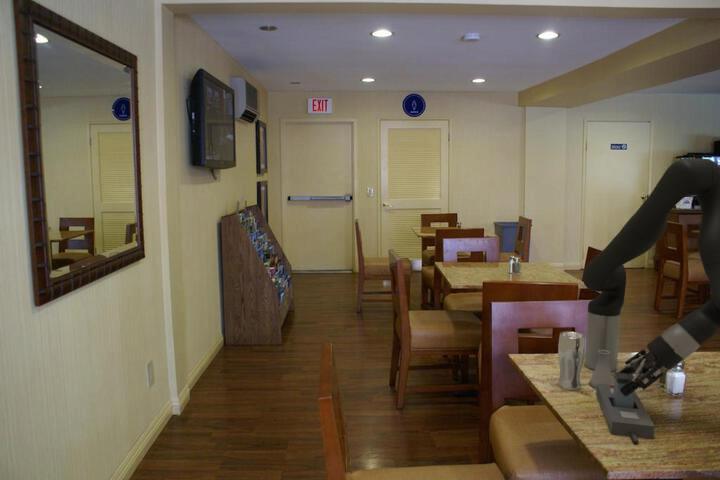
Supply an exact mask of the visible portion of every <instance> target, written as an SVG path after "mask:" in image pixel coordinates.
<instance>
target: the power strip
mask: <svg viewBox="0 0 720 480" xmlns="http://www.w3.org/2000/svg"><path fill="white" fill-rule="evenodd" d="M595 389H596V390H595V395H596V398H597V400H598V403H599V405H600V408H601V410H602V413H603V415H604V418H605V421H606V423H607V426H608V429H609V431H610V434H611V435H618V436H628V437H630V438H631V440H632V442H633V444H636V445H637V444H638V443H640V440H639V438H645V439H655V438H654V437H655V424H654V423H653V420H652V419H651V416H650V415H649V413H648V412H647V410H646V408H645V406H644V405H643V403H642V401H641V399H640V397H639V396H638V394H637V392H636V391H635V392H634V406H633V409H632V408H622V407H613V395H614V384H611V383H610V385H608V384H597V387H596V388H595Z"/></svg>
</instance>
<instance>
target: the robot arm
mask: <svg viewBox="0 0 720 480" xmlns="http://www.w3.org/2000/svg"><path fill="white" fill-rule="evenodd" d="M686 197H696V198H697V201H698V204H699V206H700V211H701V221H700V227H699V232H698V237H697V247H698V248H697V249H698V253H699V256H700V261H701V263H702V267H703V270H704V273H705V275H706V277H707V278H708V281H709V285H710V288H711V292H712V297H711V298H709V299H708V300H707V301H706V302H704V303H703V304H702V305H701V306H700V307H698V309H695V310H693V311H692V312H690V313H688V315H686V316H684V317H683V318H682V319H681V320H679V321H678V322H677V323H675V324H673V325H672V326H670V327H668V328H667V329H666V330H664V331H663V332H662V333H660V334H659V335H658V336H657V337H655V338H654V339H652V340H651V341H649V343H647V344H646V349H647V350H648V351H646V350H645V348H642V349H641V350H640V351H638V352H637V353H636V354H633V356H631V357H630V358H629V359H627V360H626V361H625V362H624V364H625V365H624V366H623V368H622V369H621V370H619V371H618V372H617V373H626V374H633V376H634V378H633V379H632V380H631V381H629V382H628V383H627V384H625V385H624V386H622V387H621V388H620V392H621V393H622V394H623V395H624V396H628V395H629V394H631V393H632V392H633V391H635V392H636V391H637V390H638V389H642V390H644V391H645V390H646V389H647V388H649V387H650V386H651V385H653V384H654V383H655V382H657V380H659V379H660V378H662V377H663V376H664V373H663V372H662V370H661V369H662V368H663V367H664V368H665V369H666V370H673V368H675V367H676V366H677V365H679V364H680V363H681V362H683V361H684V360H685V359H687V358H688V357H689V356H691V355H692V354H694V353H695V352H696V350H697V349H699V348H700V347H701V346H703V345H704V344H705V343H706V342H708V341H709V340H711V339H712V338H713V337H715V335H716V334H717V333H718V332H719V331H720V168H719V166H718V164H717V163H716V162H715V161H714V160H712V159H709V158H702V157H701V158H683V159H679V160H675V161H674V162H672V163H671V164H670V165H669V166H668V167H667V169H666V170H665V172H664V173H663V174H662V176H661V177H660V179H659V181H658V182H657V183H656V185H655V187H654V188H653V189H652V191H651V193H650V194H649V196H647V198H646V199H645V200H644V201H643V203H642V204H641V205H640V207H639V208H638V209H637V210H636V211H635V213H633V215H632V216H631V217H630V218H629V219H628V221H626V223H625V224H624V225H623V226H622V227H621V229H620V231H619V232H618V233H617V234H616V235H615V236H614V237H613V239H612V240H611V241H610V242H609V243H608V244H607V246H606V247H605V248H604V249H603V250H601V251H600V252H599V253H598V254H597V255H596V256H595V257H594V258H593V259H592V260H590V262H588V264H587V265H586V267H585V268H584V270H583V274H582V282H583V284H584V286H585V287H586V289H588V290H589V291H592V292H597V293H598V292H599V293H600V294H599V295H597V297H595V298H594V299H592V300H590V301H589V302H588V304H587V314H586V315H587V318H586V320H587V321H586V337H585V353H584V366H585V367H586V368H588V369H590V370H595V368H596V365H597V362H598V358H599V354H598V350H606V351H609V352H610V354H609V357H608V360H609V366H610V370H611V372H613V371H616V370H617V368H618V356H619V341H620V340H619V339H620V328H621V327H620V326H621V323H620V321H621V312H622V311H621V310H622V308H623V306H624V302H625V296H626V295H625V294H626V289H627V288H626V287H627V271H626V268H625V266H624V265H626V264H627V263H629V262H630V261H632V260H635V259H636V258H638V257H641V256H642V255H643V254H646V253H647V252H648V251H649V250H651V249H652V248H653V247H654V246H655V245H656V244H657V243H658V242H659V240H661V238H662V237H663V236H664V234H665V232H666V231H667V225H668V216H669V214H670V212H671V211H672V210H673V209H674V208H675V207H676V206H677V204H678V203H680V202H681V201H682V200H683V199H684V198H686ZM634 374H635V375H634ZM613 379H615V377H614V376H613Z"/></svg>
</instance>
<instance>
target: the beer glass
mask: <svg viewBox="0 0 720 480" xmlns="http://www.w3.org/2000/svg"><path fill="white" fill-rule="evenodd" d="M558 338H559V339H558V346H557V347H558V349H557V350H558V352H557V353H558V362H559V378H558V382H557V384H558V387H559V388H561V389H563V390H567V391H578V390H580V389H581V388H582V384H581V383H582V382H581V373H582V367H583V363H584V360H585V350H586V337H585V335H584V333H583V334H582V333H580V332H576V331H561V332H560V333H559V337H558Z"/></svg>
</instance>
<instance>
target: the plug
mask: <svg viewBox="0 0 720 480" xmlns="http://www.w3.org/2000/svg"><path fill="white" fill-rule="evenodd" d="M634 376H635V375H634V374H626V373H618V372H614V375H613V379H614V377H615V379H614V395H613V407H622V408H632V409H633V406H634V392H636V390H635V391H633V392H632V393H631V394H629V395H628V396H624V395H623V394H622V393H621V392H620V388H621V387H622V386H624V385H625V384H627V383H628V382H629V381H631V380H632V379H633V378H634Z"/></svg>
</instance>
